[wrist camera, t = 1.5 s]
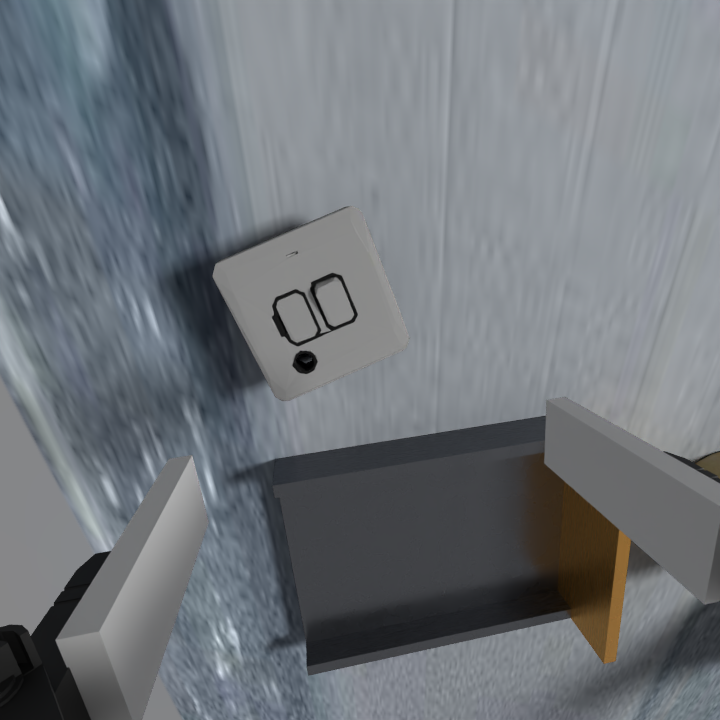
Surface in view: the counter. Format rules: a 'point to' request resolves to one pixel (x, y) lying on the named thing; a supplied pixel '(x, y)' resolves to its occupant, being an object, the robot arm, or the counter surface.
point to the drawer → (444, 545)
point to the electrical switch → (313, 303)
